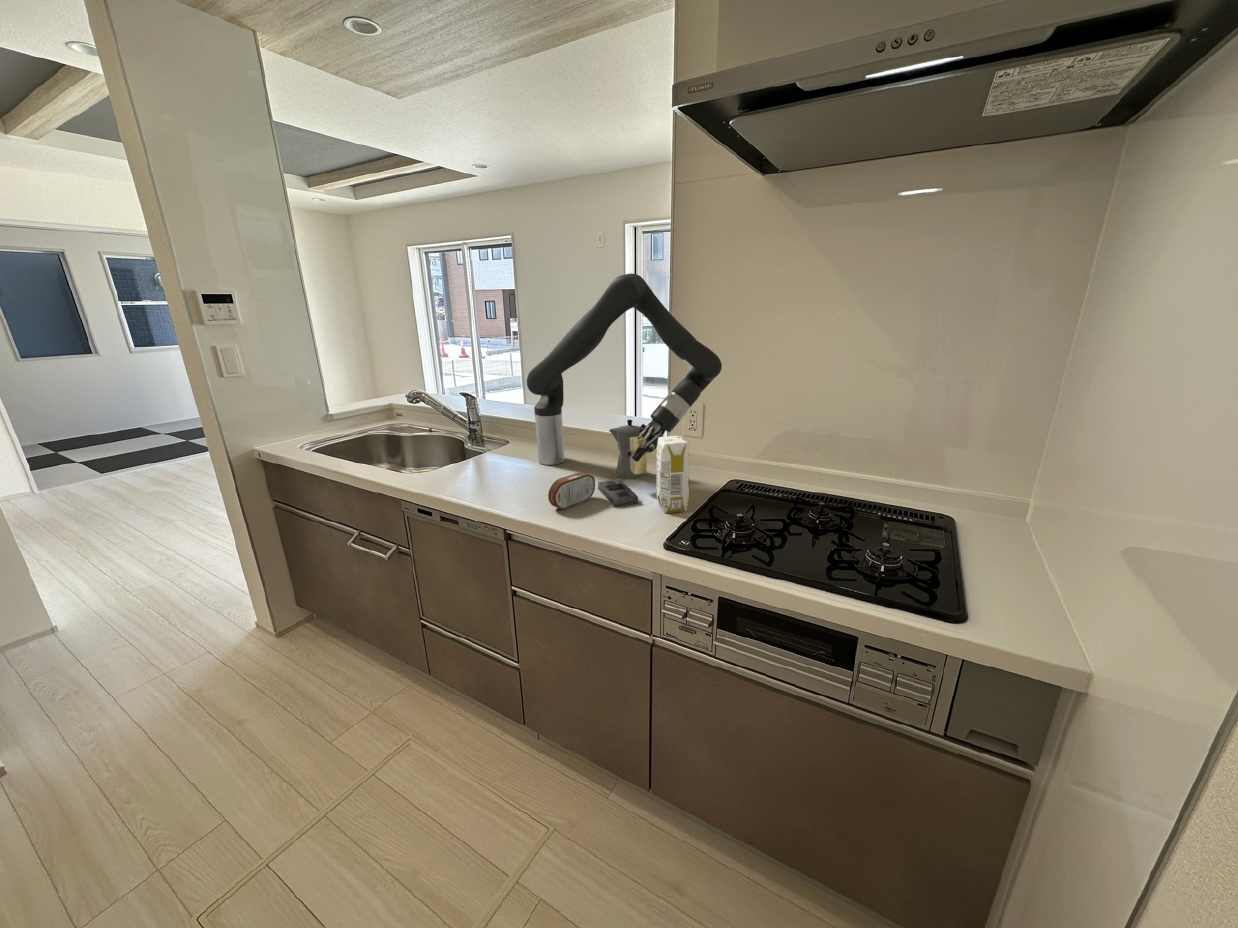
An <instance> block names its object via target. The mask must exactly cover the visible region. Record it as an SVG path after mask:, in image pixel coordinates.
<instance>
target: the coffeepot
mask: <svg viewBox="0 0 1238 928" xmlns="http://www.w3.org/2000/svg"><path fill="white" fill-rule="evenodd" d="M626 421H627V425H622V426H621V425H620V426H619V427H614V428H610V429H609V430H608V432H610V433H611V435H612V436H613V438H614V439H615V440H616V443H617V448H618V450H619V454H618V459H617V467H616V471H615V472H616V475H617V476H618V477H620V478H621V477H623V478H622V479H627V478H633V479H637V478H638V477H639V478H641V476H642V477H643V476H645V474H646V473H640V474H634V473H633V472H632V471H630V456H629V455H627V451H628V450H629V449H630V437H635V435H636V433H637V432H638V430H639V428H640V427H641V425H640V426H639V425H634V424H633V419H628V420H626ZM652 447H653V446H652ZM652 447H651V448H652ZM647 453H650V452H649V451H648V452H647ZM647 453H646V454H647ZM639 478H638V479H639Z"/></svg>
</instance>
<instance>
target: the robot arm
mask: <svg viewBox="0 0 1238 928" xmlns="http://www.w3.org/2000/svg"><path fill="white" fill-rule="evenodd" d="M633 308H634V309H635V310H636V311H638V312H639V313H640V314H641V315H643V316H644V317H645V318H646V319H647V320H648V321H649V323H650V324H651V325H652V327H653V328H654V330H655V331H656V333H657V335H658V336H659V338H660V339H661V341H662V342H663V343H664V344H665V346H666V347H667V348H668V349H670V351H671V352H672V353H674V354H675V355H676V356H677V357H678V358H679V359H680V360H682V361H683V360H684V361H686V362H687V363H688V365H691V369H690V370H689V371H688V372H687V374H686V375H685V377H684V378H683V379H682V380H680V382H678V384H676V386H675V387H674V388H673V389H672V390H671V392H670V393H668V395H666V397H665V398H664V399H662V401H661V402H660V403H659V404H658V405H657V406H656V408H655V409H654V410H653V411H652V413H651V414H650V418H651V421H650V422H649V423H648V424H647V425H645V424H644V423H642V424H641V425H640V426H641V427H640V428H639V430H638V432H637V433H636V435H635V437H638V436H640V437H643V438H644V442H643V443H642V445H641V446H640V447H641V448H640V447H639V449H638V450H637V451H636V452H635V453H634V454H633V455H632V459H634V460H635V461H636V462H638V461H639V460H640V458H641V457H642V456H643V455H644V454H645V453H646V454H647V452H648V451H649V453H652V452H654V451H655V450H657V443H658V437H665V433H666V432H667V433H671V432H672V431H673V430H674V428H675V427H676V426H677V425H678V424H680V423H679V422H681V421H682V419H683V418H684V417H685V416H686V415H687V413H688V411H689V409H691V407H692V406H693V405H694V404H695V402H696V401H697V400H698V399H699V398H700V396H701V395H702V394H701V393H703V391H705V389H706V388H707V387H708V386H709V385H710V384H711V382H712V381H714V380H715V378H716V377H718V376H719V375H720V374H721V372H722V369H723V363H722V361H721V359H720V357H719V356H718V355H717V354H716V352H714V351H712V350H711V349H710V348H709V347H707V346H706V345H704V344H703V343H701V342H700V341H698V340H697V339H696V338H695V336H694V335H692V333H691V332H690V331H688V329H686V328H685V327H684V326H683V325H682V324H681V323H680V322H679V321H678V320H677V319H676V318H675V316H673V315H672V314H671V312H670V311H669V310H668V309H667V308H666V306H665V305H664V304H663V303H662V302H661V301H660V299H659V298H658V297H657V295H656V294H655V293H654V291H653V290H652V289H651V287H650V286H649V284H648V283H647V282H646V281H645V279H644V278H643V277H642V276H641V275H639V274H637V273H632V272H631V273H625V274H620V275H619V276H617V277H615V278H614V279H613V280H612V281H611V283H610V284H609V285H608V287H607V288H606V289H605V291H604V292H603V294H602V295H601V297H600V298H599V299H598V300H597V302H596V303H595V304H594V305H593V306H592V307H591V308H590V309H589V310H588V311H587V312H586V313H585V314H584V315H583V316H582V317H581V318H580V320H578V321H577V322H576V323H575V324H574V325H573V326H572V327H571V328H570V329H569V331H568V332H567V333H566V334H565V336H563V338H561V340H560V341H559V342H558V343H557V345H556V346H554V348H552V350H551V351H550V352H549V354H548V355H547V356H545V358H543V360H541V361H540V362H539V363H538V364H537V365H535V366H534V367H533V368H532V369H531V370H530V371H529V372H528V375H527V378H526V386H527V389H528V391H529V392H530V393H532V394H533V395H536V396H537V395H538V396H540V398H539V400H538V402H536V404H535V405H534V407H533V408H534V421H535V422H534V423H535V433H536V435H535V436H536V444H537V447H536V448H537V459H538V461H537V462H538V463H539V464H541V465H546V466H549V465H550V466H551V465H559V464H562V463H563V462H565V442H564V440H565V439H564V428H563V413H562V408H563V405H564V379H563V373H564V372H565V371H567V370H568V369H570V368H572V367H574V366H575V365H577V364H579V363H580V362H581V361H583V360H584V359H586V358H587V357H588V356H589V355H591V353H592V352H593V351H594V350H595V349H596V348H597V347H598V346H599V345H600V343H601V342H602V340H603V339H604V337H605V336H606V333H607V332H608V330H609V328H610V327H611V325H612V324H613V323H614V322H616V321H617V320H618V319H619V318H621V316H622V315H624V314H625V313H626V312H627V311H629V310H631V309H633ZM652 446H653V447H652ZM651 447H652V448H651ZM627 455H629V456H630V449H629V450H628V451H627Z"/></svg>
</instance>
